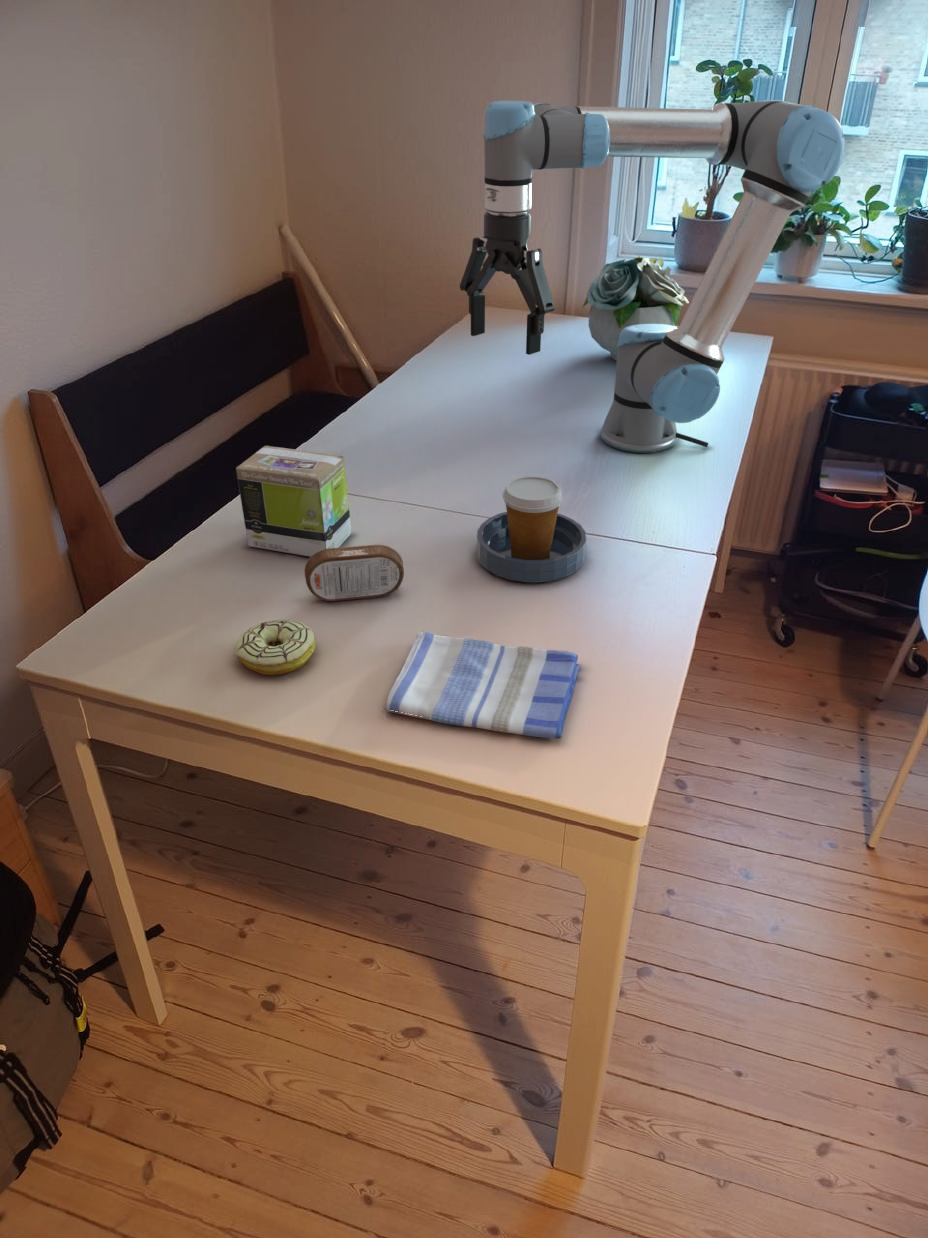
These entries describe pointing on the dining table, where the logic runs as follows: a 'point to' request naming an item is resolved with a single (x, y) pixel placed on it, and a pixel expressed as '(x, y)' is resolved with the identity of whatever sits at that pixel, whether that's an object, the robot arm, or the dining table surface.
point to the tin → (354, 572)
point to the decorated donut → (275, 646)
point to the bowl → (559, 564)
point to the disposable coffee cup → (532, 515)
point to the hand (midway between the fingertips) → (504, 343)
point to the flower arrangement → (631, 299)
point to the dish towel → (486, 685)
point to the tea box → (294, 500)
